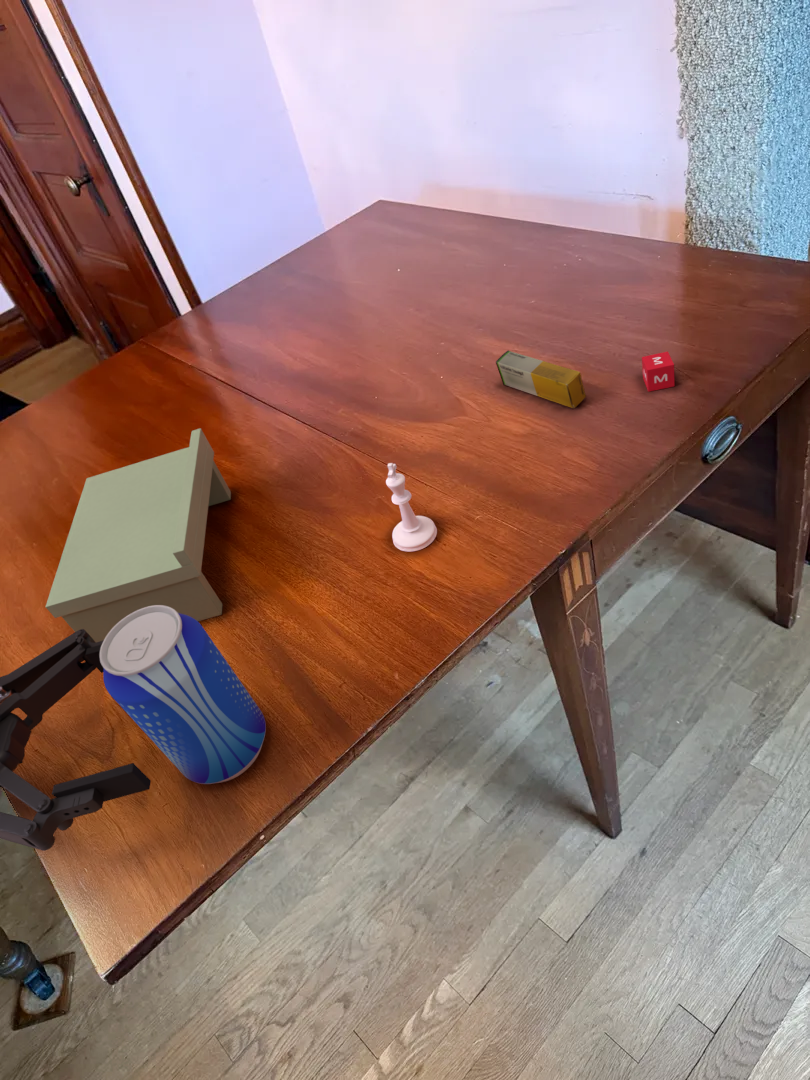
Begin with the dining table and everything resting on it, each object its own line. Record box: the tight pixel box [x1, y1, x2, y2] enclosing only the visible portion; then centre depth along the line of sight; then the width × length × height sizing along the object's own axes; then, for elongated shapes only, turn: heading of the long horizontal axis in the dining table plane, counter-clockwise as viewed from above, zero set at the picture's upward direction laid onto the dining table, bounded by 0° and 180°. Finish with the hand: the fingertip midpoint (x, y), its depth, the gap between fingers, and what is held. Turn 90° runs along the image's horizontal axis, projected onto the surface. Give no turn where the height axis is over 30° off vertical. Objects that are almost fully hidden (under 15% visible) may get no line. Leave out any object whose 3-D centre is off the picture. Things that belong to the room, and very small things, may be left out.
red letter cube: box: [641, 351, 675, 392], centre depth 88 cm, size 3×3×3 cm
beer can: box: [100, 605, 267, 785], centre depth 62 cm, size 8×8×16 cm
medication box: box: [495, 349, 587, 409], centre depth 92 cm, size 12×3×4 cm, turn 40°
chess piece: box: [385, 462, 438, 553], centre depth 77 cm, size 5×5×10 cm
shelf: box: [45, 427, 232, 642], centre depth 85 cm, size 16×22×10 cm
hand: (152, 703), depth 62 cm, fingers open, 13 cm apart
